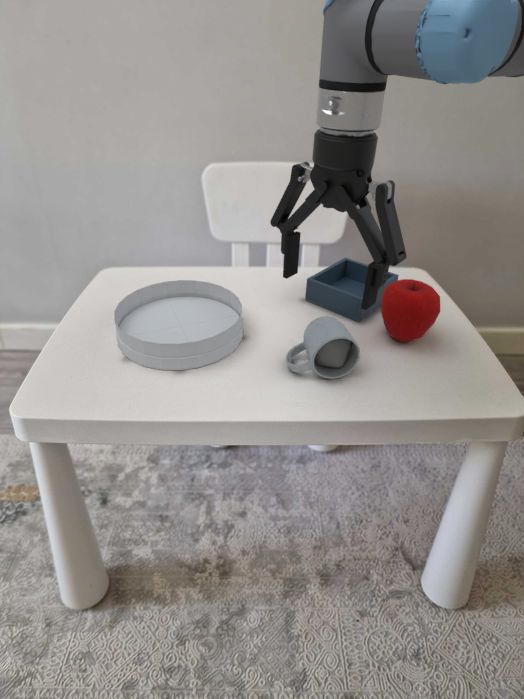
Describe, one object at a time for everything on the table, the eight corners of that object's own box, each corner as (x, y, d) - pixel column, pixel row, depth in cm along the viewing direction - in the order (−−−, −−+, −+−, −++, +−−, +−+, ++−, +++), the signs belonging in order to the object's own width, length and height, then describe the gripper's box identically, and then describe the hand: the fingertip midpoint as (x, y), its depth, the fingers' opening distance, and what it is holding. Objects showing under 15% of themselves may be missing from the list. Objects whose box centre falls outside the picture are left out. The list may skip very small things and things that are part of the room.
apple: (442, 344, 79) (459, 289, 73) (397, 356, 76) (410, 299, 70) (407, 317, 87) (419, 265, 81) (364, 327, 84) (374, 273, 78)
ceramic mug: (340, 347, 78) (345, 308, 74) (357, 376, 72) (363, 336, 67) (280, 354, 77) (281, 314, 72) (292, 384, 70) (294, 343, 66)
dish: (262, 353, 76) (263, 328, 73) (128, 383, 69) (123, 357, 66) (220, 294, 93) (219, 272, 90) (109, 314, 86) (104, 290, 83)
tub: (394, 296, 94) (398, 274, 91) (359, 322, 85) (363, 300, 82) (342, 277, 101) (345, 257, 98) (305, 300, 92) (306, 278, 89)
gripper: (247, 119, 58) (246, 271, 70) (434, 152, 45) (392, 332, 57) (283, 113, 62) (277, 257, 75) (462, 141, 49) (418, 309, 62)
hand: (327, 289), depth 66 cm, fingers open, 13 cm apart
